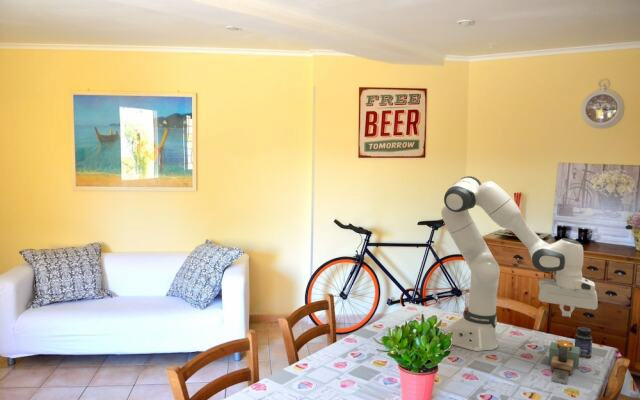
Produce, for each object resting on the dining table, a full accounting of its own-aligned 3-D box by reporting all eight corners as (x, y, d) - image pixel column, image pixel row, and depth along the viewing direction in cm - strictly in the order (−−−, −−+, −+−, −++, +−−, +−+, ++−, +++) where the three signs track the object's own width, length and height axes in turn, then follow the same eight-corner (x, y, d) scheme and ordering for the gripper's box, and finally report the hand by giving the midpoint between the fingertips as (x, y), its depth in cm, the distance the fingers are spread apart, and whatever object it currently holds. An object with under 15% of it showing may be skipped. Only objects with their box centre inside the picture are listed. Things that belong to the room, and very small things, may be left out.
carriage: (550, 370, 181) (552, 348, 180) (552, 364, 186) (553, 343, 185) (571, 374, 177) (573, 352, 176) (572, 368, 182) (574, 347, 181)
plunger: (555, 358, 187) (556, 343, 186) (556, 353, 192) (557, 338, 191) (571, 362, 184) (572, 346, 184) (572, 356, 189) (573, 341, 188)
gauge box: (548, 362, 188) (549, 348, 187) (550, 356, 194) (551, 341, 193) (577, 368, 183) (578, 353, 182) (578, 362, 189) (579, 347, 188)
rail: (551, 381, 173) (551, 377, 173) (555, 365, 186) (555, 361, 185) (566, 384, 170) (567, 380, 170) (570, 368, 183) (570, 364, 183)
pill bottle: (593, 359, 191) (595, 332, 190) (576, 357, 193) (578, 331, 191) (588, 352, 197) (589, 326, 196) (572, 351, 199) (573, 325, 197)
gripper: (538, 279, 186) (536, 313, 188) (599, 287, 176) (596, 323, 178) (539, 275, 192) (537, 309, 193) (599, 283, 182) (596, 318, 183)
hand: (566, 316), depth 185 cm, fingers closed
